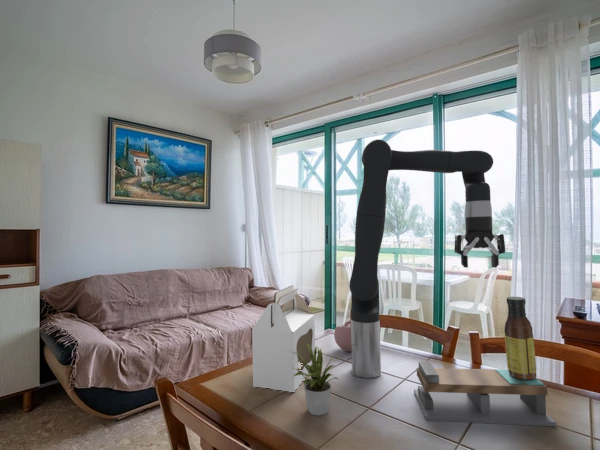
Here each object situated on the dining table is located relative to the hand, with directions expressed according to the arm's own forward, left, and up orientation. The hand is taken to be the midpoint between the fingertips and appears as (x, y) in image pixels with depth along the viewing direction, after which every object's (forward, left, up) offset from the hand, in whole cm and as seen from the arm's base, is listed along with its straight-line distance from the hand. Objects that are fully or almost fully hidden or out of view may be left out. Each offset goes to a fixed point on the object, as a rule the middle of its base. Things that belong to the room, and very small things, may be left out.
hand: (479, 267), depth 107 cm
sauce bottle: (+2, -20, -26) cm, 33 cm away
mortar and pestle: (-41, +20, -34) cm, 57 cm away
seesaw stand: (-9, -20, -34) cm, 40 cm away
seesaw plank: (-9, -20, -28) cm, 36 cm away
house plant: (-51, -24, -34) cm, 66 cm away
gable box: (-62, -4, -34) cm, 71 cm away
